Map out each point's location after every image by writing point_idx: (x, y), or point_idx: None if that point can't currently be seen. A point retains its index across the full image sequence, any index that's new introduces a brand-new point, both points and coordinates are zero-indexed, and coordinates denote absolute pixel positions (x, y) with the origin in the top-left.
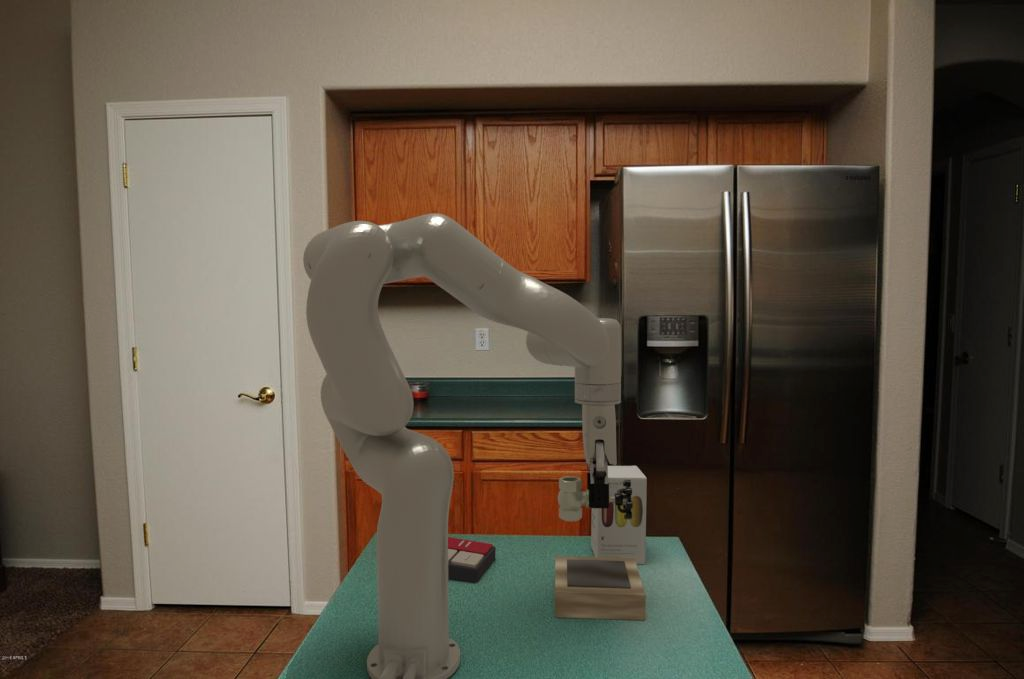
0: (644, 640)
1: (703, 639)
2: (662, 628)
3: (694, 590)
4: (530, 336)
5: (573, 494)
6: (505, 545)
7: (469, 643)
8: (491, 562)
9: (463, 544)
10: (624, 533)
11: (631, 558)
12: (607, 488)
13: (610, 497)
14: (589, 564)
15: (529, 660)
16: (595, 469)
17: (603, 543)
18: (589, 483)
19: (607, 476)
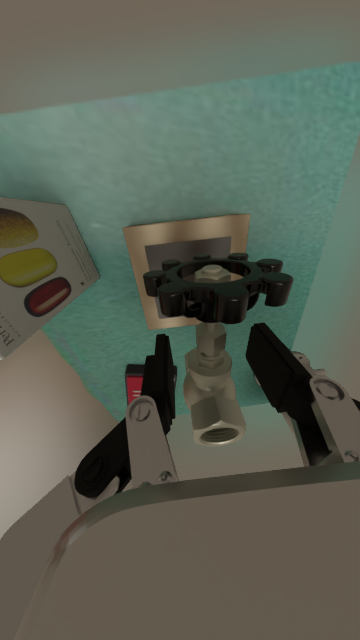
0: (279, 217)
1: (292, 118)
2: (256, 189)
3: (135, 103)
4: None
5: (235, 398)
6: (93, 363)
7: None
8: (139, 366)
9: (139, 393)
10: (58, 248)
11: (125, 233)
12: (295, 363)
13: (217, 327)
14: None
15: (290, 316)
16: (165, 426)
17: (85, 279)
18: (285, 411)
19: (358, 410)
